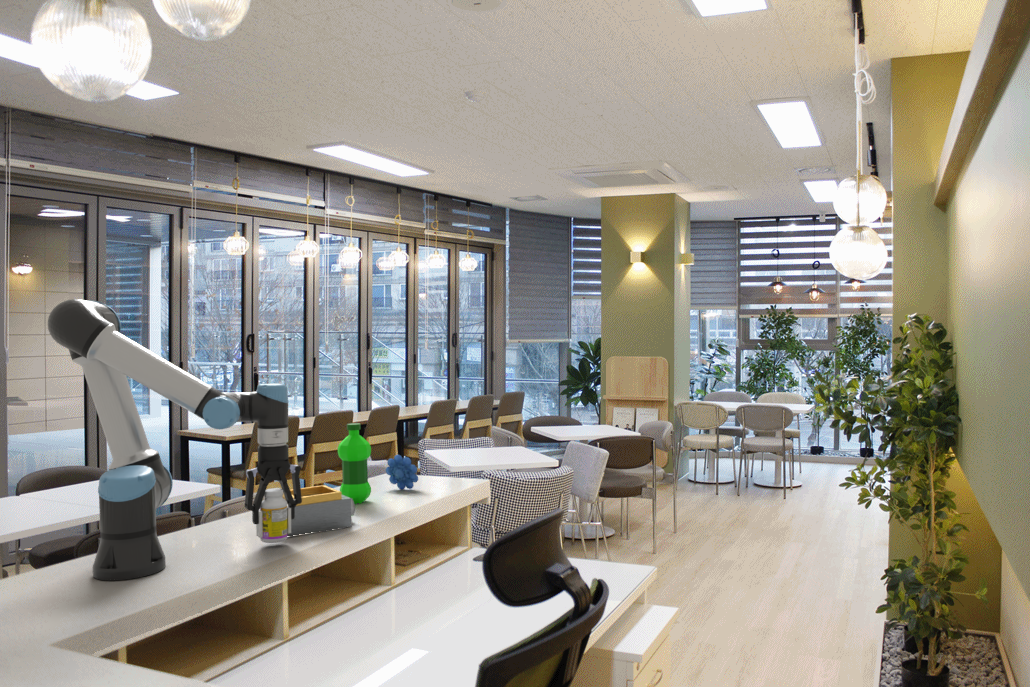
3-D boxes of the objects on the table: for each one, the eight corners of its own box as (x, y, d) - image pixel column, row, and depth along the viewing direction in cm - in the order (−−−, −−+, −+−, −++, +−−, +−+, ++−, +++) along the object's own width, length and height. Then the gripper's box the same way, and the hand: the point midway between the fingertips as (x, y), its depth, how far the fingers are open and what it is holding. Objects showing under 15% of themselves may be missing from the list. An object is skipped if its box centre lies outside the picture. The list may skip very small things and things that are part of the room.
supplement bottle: (257, 539, 203) (256, 489, 203) (283, 535, 207) (282, 486, 207) (264, 545, 198) (263, 493, 198) (290, 541, 201) (290, 490, 201)
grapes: (381, 491, 269) (380, 456, 269) (388, 487, 276) (387, 453, 275) (414, 492, 267) (413, 456, 266) (420, 488, 273) (419, 453, 273)
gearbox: (287, 537, 210) (286, 500, 210) (271, 527, 222) (270, 492, 222) (361, 525, 222) (360, 489, 222) (342, 516, 234) (341, 482, 234)
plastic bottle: (357, 506, 246) (355, 426, 246) (332, 503, 252) (330, 425, 251) (378, 500, 255) (376, 422, 254) (354, 497, 260) (352, 421, 260)
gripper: (237, 449, 193) (238, 543, 194) (315, 442, 205) (316, 531, 205) (229, 445, 200) (230, 537, 200) (305, 439, 211) (306, 526, 211)
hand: (273, 534), depth 202 cm, fingers closed on supplement bottle, 7 cm apart
